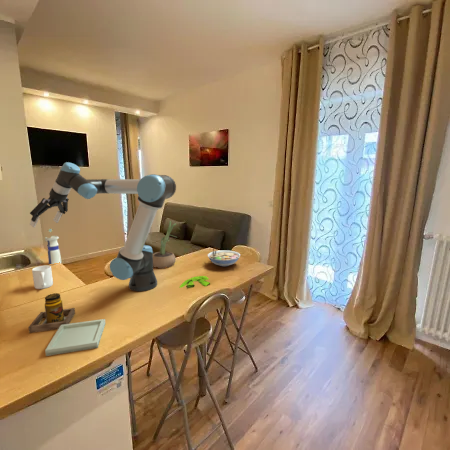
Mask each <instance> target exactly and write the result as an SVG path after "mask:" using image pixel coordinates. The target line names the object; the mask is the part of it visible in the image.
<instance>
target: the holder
mask: <svg viewBox="0 0 450 450" xmlns="http://www.w3.org/2000/svg"><path fill="white" fill-rule="evenodd" d="M63 313H64V317H66V319H65V321H62V322H54V323H47V324H42V323H41V322H42V321H43V319H46V311H41V312H40V313H39V314H38V315H37V316H36V317H35V318H34V320H33V321H32V322H31V323H30V324H29V326H28V327H27V328H28V334H32V333H39V332H46V331H54V330H58V329H59V327H60V326H61V325H63V324H70V323H71V322H72V320H73V318H74V316H75V314H76V309H75V307H70V308H63ZM40 323H41V324H40Z"/></svg>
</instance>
